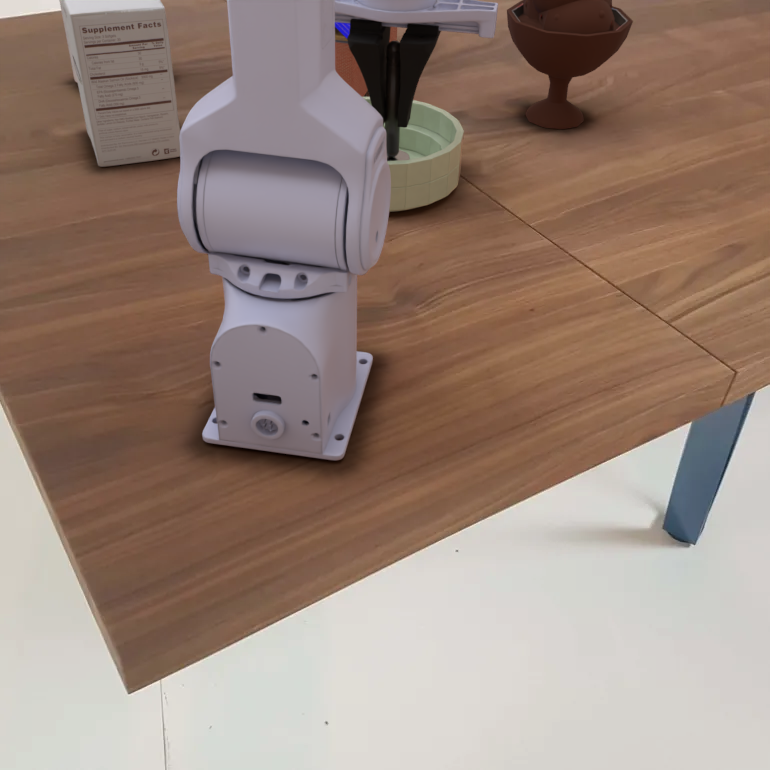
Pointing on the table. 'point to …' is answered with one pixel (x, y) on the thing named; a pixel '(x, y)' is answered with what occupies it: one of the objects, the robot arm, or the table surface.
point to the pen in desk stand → (393, 103)
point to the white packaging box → (124, 78)
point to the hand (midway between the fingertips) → (392, 121)
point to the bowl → (426, 158)
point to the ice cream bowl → (565, 48)
